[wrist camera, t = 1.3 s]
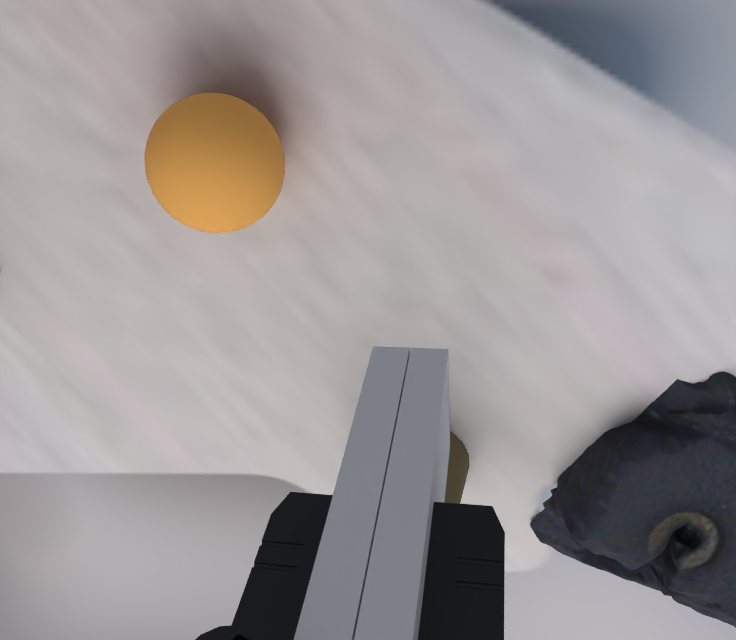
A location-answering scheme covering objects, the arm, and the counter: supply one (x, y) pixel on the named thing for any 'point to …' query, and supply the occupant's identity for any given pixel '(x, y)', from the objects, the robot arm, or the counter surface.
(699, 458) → the dark slate chunk
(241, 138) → the ball
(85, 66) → the counter surface
